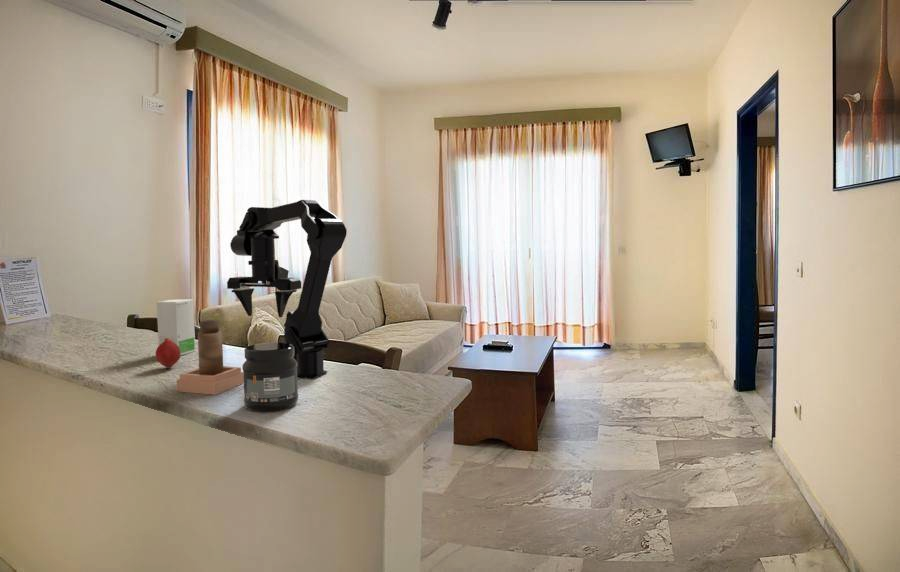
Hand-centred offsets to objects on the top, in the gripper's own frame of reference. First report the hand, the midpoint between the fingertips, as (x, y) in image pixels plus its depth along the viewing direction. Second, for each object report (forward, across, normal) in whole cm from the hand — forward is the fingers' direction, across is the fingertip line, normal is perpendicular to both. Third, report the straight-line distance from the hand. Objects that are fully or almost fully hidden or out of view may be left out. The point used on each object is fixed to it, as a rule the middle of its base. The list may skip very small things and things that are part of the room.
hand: (265, 316), depth 145 cm
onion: (+13, +23, +9) cm, 28 cm away
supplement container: (+13, -21, +29) cm, 38 cm away
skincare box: (+13, +34, -6) cm, 37 cm away
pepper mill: (+10, 0, +21) cm, 23 cm away
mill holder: (+13, 0, +21) cm, 25 cm away
